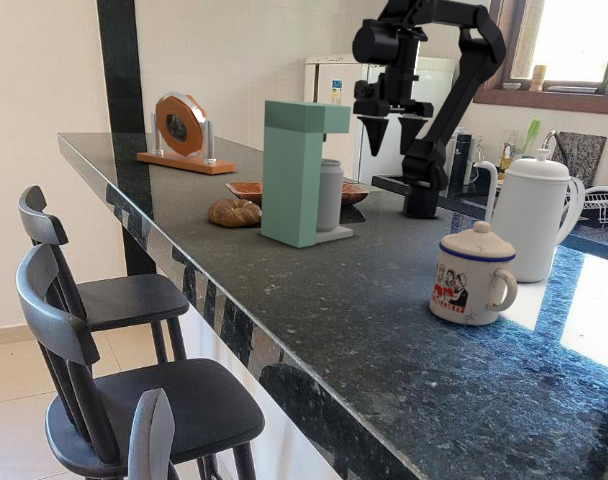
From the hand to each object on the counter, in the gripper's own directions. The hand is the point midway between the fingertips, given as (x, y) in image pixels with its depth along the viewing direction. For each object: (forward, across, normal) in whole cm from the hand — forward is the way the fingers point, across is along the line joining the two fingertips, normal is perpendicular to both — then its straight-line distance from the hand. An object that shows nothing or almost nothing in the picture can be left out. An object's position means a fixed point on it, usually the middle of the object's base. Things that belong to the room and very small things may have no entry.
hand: (388, 155), depth 107 cm
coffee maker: (+13, +23, +1) cm, 26 cm away
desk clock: (+13, 0, -75) cm, 76 cm away
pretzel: (+13, +28, -14) cm, 34 cm away
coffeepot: (+13, +10, +35) cm, 38 cm away
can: (+12, +20, +2) cm, 24 cm away
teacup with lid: (+13, +32, +41) cm, 54 cm away
